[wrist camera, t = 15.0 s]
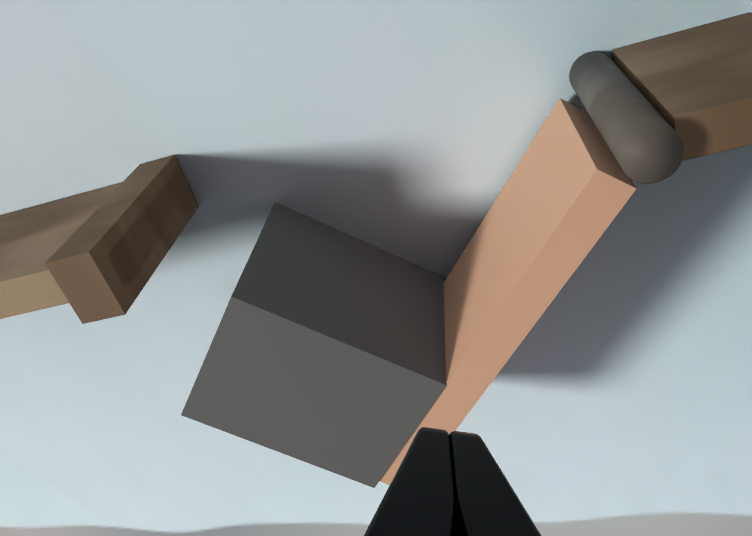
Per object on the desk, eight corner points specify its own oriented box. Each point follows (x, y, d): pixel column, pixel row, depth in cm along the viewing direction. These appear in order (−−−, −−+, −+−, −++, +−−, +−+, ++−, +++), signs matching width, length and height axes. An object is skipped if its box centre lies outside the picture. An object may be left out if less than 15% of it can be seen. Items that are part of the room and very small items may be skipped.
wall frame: (747, -3, 17) (880, 55, 12) (748, 65, 18) (873, 147, 13) (-128, 237, 23) (-288, 345, 18) (-95, 280, 24) (-239, 395, 19)
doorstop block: (230, 304, 24) (180, 415, 19) (275, 200, 21) (231, 296, 17) (385, 368, 25) (374, 488, 20) (443, 275, 22) (446, 385, 18)
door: (559, 98, 19) (597, 169, 14) (590, 113, 19) (636, 188, 14) (388, 370, 24) (378, 480, 20) (413, 380, 24) (409, 492, 20)
